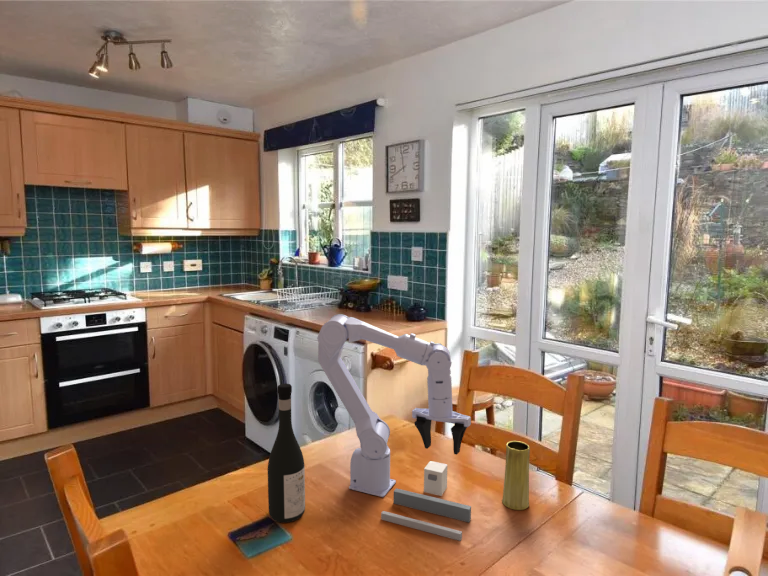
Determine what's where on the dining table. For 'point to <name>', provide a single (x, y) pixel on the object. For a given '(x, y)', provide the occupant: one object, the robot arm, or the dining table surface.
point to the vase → (516, 476)
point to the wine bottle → (286, 467)
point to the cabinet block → (435, 478)
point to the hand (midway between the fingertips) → (442, 449)
